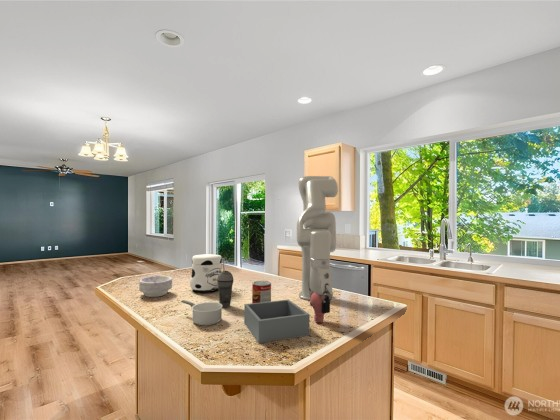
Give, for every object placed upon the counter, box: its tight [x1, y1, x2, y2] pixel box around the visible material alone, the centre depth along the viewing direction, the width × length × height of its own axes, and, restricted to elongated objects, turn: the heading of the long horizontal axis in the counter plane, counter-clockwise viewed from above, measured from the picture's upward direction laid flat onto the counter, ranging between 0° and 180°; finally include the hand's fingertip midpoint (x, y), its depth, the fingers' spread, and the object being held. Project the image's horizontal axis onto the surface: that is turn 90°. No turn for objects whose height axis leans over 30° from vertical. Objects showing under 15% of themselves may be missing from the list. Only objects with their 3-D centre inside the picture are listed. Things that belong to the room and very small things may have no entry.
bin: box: [243, 299, 311, 344], centre depth 102 cm, size 18×18×7 cm
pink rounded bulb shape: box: [309, 292, 326, 324], centre depth 108 cm, size 7×7×12 cm
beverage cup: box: [217, 260, 235, 309], centre depth 126 cm, size 7×7×20 cm
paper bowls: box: [138, 275, 173, 298], centre depth 143 cm, size 15×15×8 cm
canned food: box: [251, 280, 272, 304], centre depth 120 cm, size 8×8×12 cm
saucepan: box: [180, 299, 223, 326], centre depth 111 cm, size 12×20×6 cm, turn 58°
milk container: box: [189, 253, 223, 293], centre depth 154 cm, size 17×17×18 cm
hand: (319, 308), depth 108 cm, fingers open, 8 cm apart
